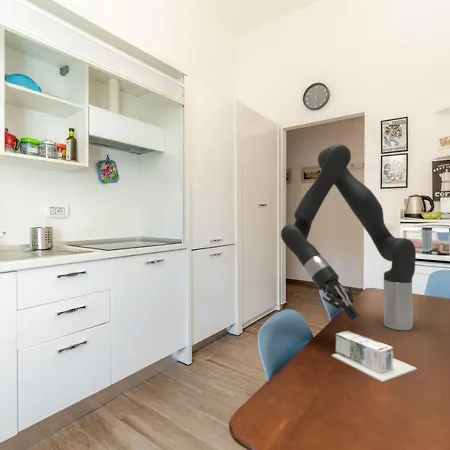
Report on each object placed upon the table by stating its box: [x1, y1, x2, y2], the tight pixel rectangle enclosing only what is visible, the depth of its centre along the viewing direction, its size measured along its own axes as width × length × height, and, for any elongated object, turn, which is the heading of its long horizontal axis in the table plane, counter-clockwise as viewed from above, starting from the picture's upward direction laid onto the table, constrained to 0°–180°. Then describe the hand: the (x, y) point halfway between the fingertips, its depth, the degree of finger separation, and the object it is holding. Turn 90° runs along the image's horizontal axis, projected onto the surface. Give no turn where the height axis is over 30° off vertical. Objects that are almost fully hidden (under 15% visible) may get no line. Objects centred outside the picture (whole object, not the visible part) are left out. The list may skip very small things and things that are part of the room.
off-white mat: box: [331, 352, 418, 383], centre depth 83 cm, size 14×16×1 cm
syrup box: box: [334, 330, 394, 373], centre depth 83 cm, size 6×6×14 cm
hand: (355, 318), depth 89 cm, fingers closed
